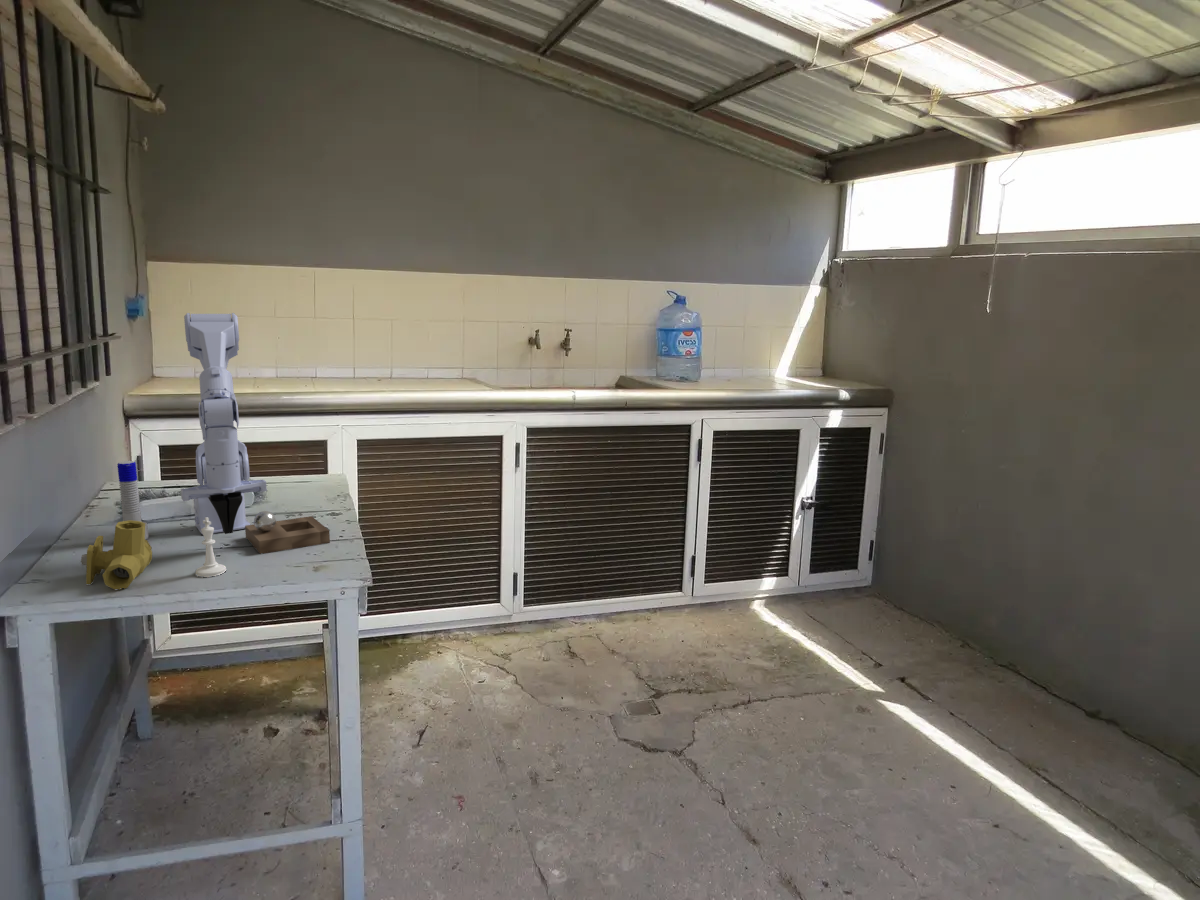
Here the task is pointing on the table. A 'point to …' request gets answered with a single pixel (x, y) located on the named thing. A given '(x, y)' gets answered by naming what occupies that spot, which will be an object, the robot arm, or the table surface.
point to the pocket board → (288, 535)
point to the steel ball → (264, 521)
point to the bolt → (130, 493)
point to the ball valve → (119, 556)
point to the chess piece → (209, 554)
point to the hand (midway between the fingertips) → (228, 532)
